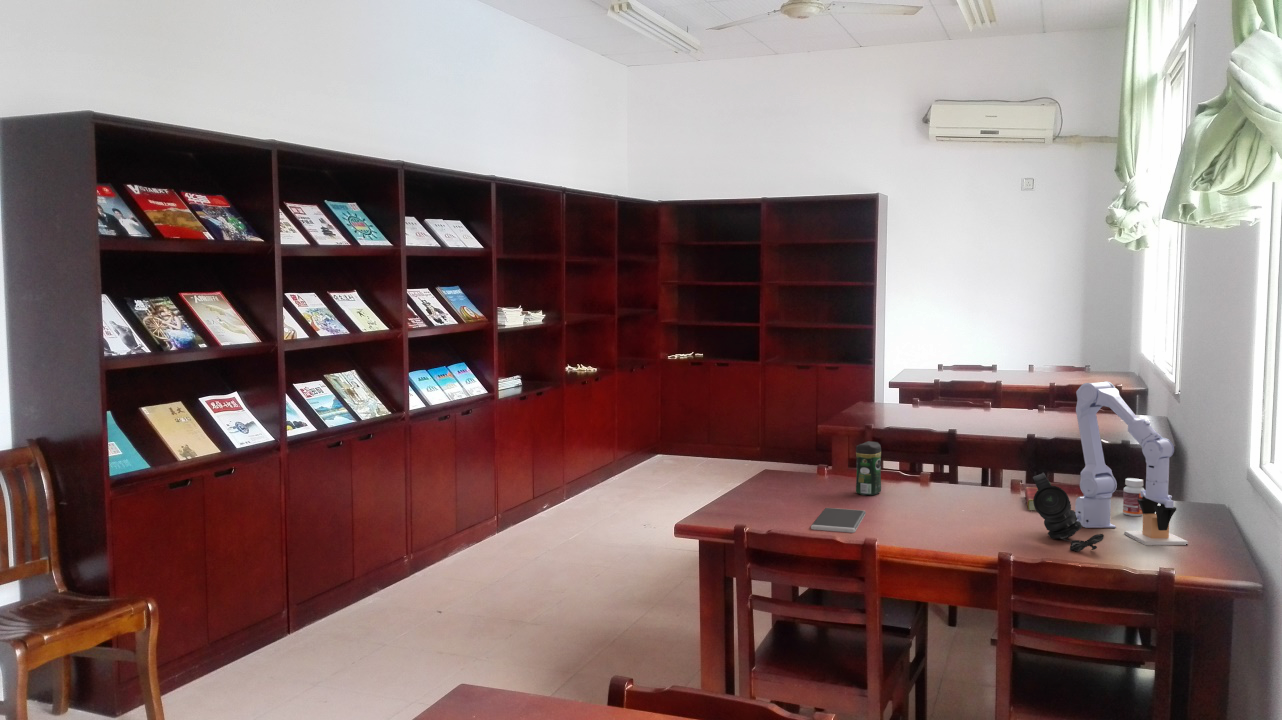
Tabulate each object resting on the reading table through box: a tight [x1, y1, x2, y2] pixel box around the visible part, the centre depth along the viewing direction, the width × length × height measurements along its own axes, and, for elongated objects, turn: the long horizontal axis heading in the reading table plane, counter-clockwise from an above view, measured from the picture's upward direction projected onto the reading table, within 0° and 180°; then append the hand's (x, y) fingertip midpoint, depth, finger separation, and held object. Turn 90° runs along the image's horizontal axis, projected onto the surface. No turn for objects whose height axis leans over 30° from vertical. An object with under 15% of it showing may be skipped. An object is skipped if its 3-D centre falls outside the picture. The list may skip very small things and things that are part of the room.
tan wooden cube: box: [1141, 513, 1170, 538], centre depth 274 cm, size 5×5×6 cm
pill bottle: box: [1122, 477, 1145, 517], centre depth 305 cm, size 6×6×11 cm
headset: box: [1032, 472, 1105, 552], centre depth 274 cm, size 18×14×29 cm
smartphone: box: [810, 507, 866, 534], centre depth 299 cm, size 13×27×2 cm, turn 160°
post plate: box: [1123, 530, 1189, 546], centre depth 274 cm, size 12×12×4 cm
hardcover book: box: [1024, 486, 1038, 511], centre depth 320 cm, size 12×21×4 cm, turn 160°
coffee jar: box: [855, 440, 882, 496], centre depth 339 cm, size 10×8×19 cm
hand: (1155, 526), depth 274 cm, fingers open, 7 cm apart
